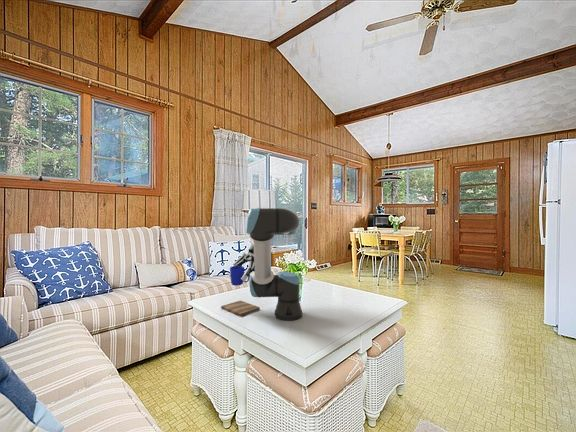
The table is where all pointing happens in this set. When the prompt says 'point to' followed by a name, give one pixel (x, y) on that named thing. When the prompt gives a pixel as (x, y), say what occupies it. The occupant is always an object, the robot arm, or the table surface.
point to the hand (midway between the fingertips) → (236, 278)
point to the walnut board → (240, 308)
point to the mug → (237, 275)
